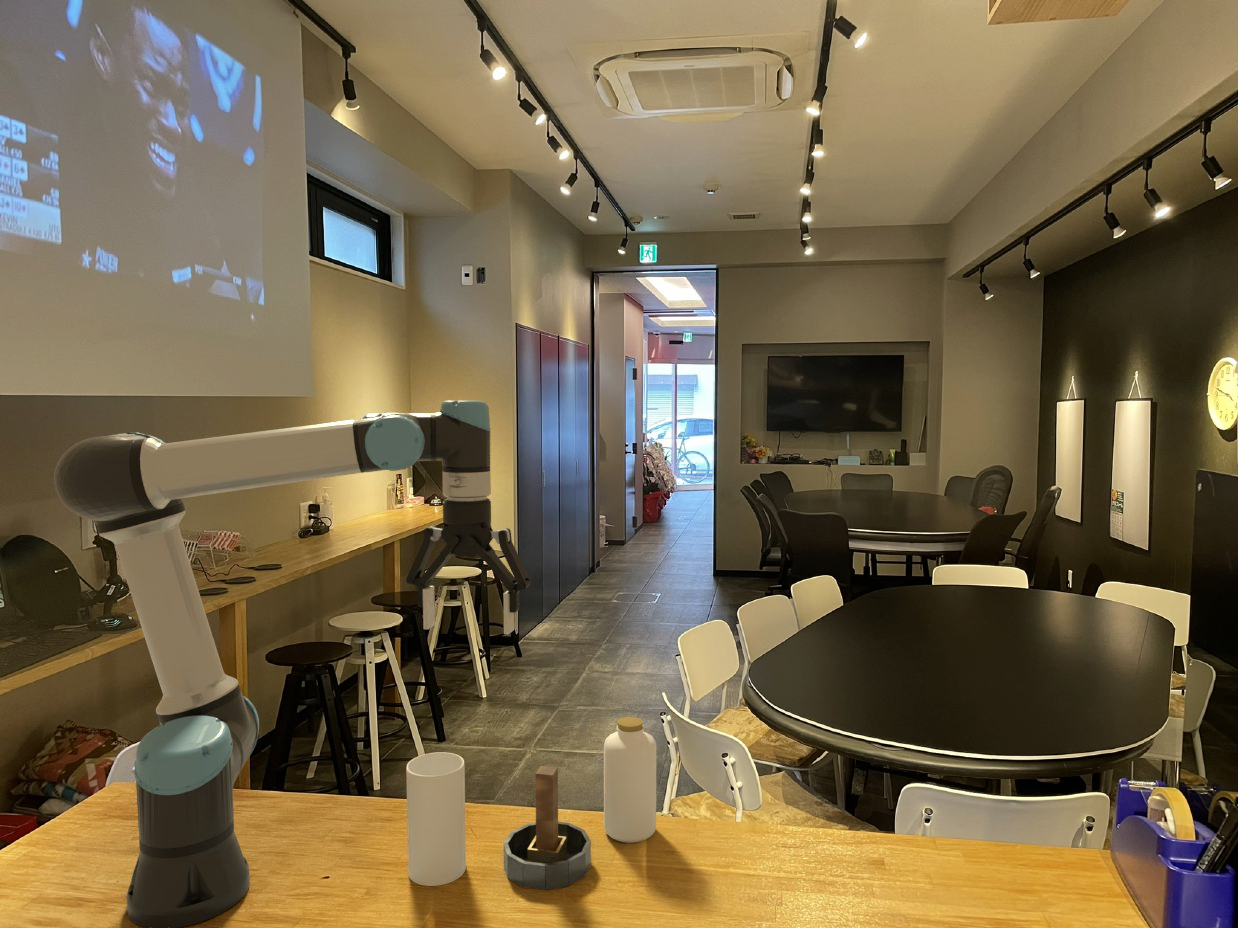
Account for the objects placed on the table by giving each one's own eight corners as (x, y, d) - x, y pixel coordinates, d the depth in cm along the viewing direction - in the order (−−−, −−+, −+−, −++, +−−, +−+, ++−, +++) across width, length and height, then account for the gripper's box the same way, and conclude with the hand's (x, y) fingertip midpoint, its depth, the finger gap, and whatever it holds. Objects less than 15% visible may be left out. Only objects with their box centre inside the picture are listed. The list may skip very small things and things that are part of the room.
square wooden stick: (536, 865, 124) (535, 773, 123) (541, 856, 127) (540, 765, 125) (553, 867, 123) (552, 774, 122) (558, 858, 126) (557, 767, 125)
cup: (452, 888, 119) (451, 778, 118) (398, 882, 121) (396, 773, 119) (474, 857, 127) (472, 754, 126) (423, 852, 129) (421, 749, 127)
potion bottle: (665, 827, 136) (666, 718, 134) (638, 851, 129) (639, 736, 127) (621, 814, 140) (621, 708, 139) (593, 835, 133) (593, 724, 132)
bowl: (492, 883, 120) (492, 859, 120) (521, 838, 132) (520, 817, 132) (577, 893, 118) (577, 869, 117) (598, 847, 130) (598, 825, 129)
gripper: (383, 498, 133) (385, 631, 135) (534, 502, 128) (536, 640, 129) (405, 493, 140) (407, 619, 142) (549, 497, 135) (550, 627, 137)
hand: (468, 629), depth 136 cm, fingers open, 13 cm apart
